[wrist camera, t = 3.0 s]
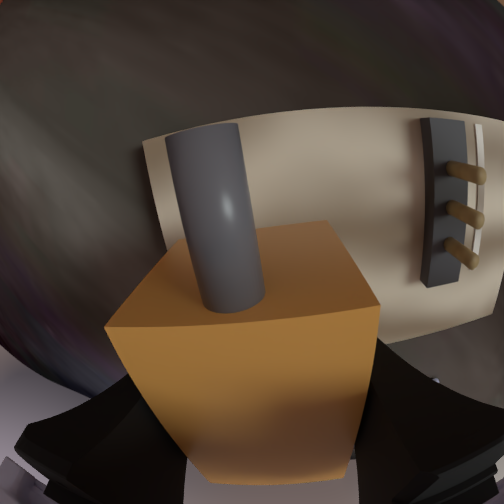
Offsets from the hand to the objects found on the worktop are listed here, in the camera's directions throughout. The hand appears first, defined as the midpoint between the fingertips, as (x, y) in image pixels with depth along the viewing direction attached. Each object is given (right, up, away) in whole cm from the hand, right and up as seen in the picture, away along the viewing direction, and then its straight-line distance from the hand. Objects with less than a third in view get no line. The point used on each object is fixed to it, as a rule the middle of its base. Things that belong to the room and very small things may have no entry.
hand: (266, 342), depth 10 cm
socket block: (0, +2, 0) cm, 2 cm away
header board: (+6, +4, +5) cm, 9 cm away
